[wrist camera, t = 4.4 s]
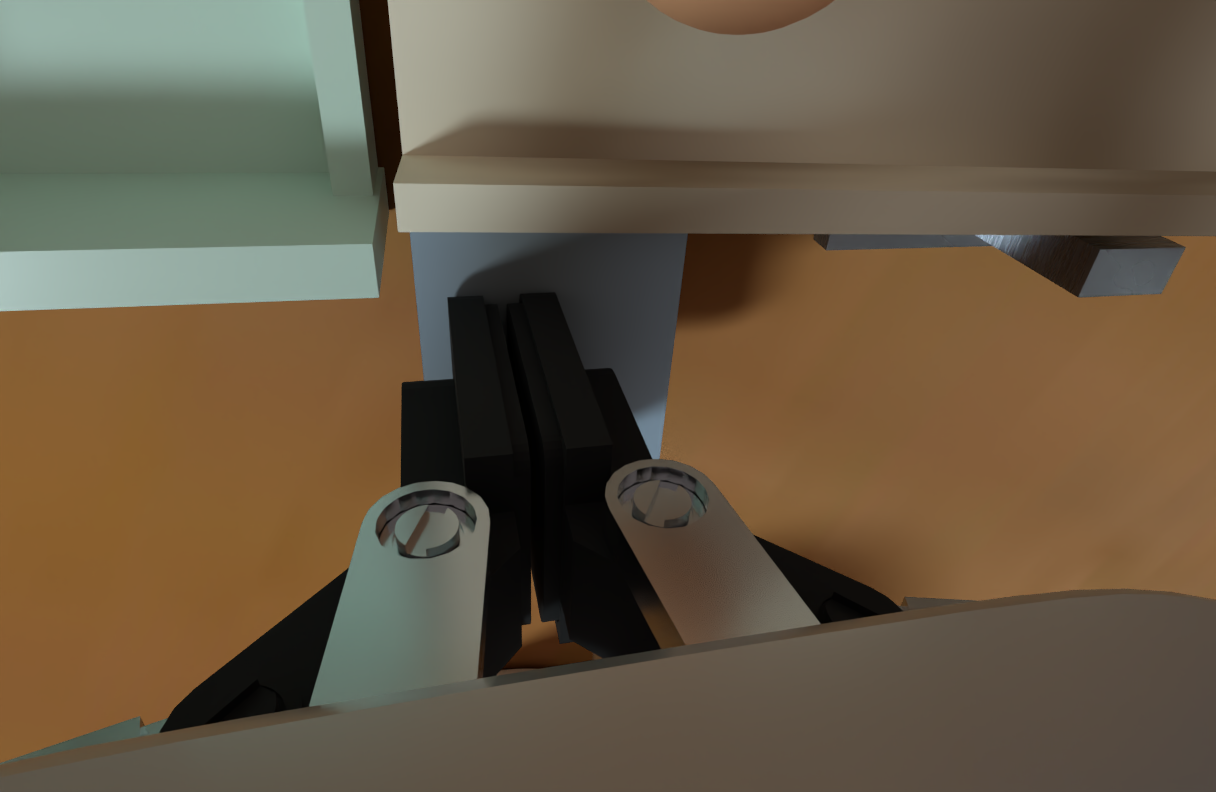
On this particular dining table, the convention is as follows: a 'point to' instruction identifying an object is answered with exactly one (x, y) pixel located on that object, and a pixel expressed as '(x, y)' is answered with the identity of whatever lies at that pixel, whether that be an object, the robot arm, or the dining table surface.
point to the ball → (739, 14)
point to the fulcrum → (1054, 257)
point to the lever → (774, 144)
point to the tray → (186, 154)
